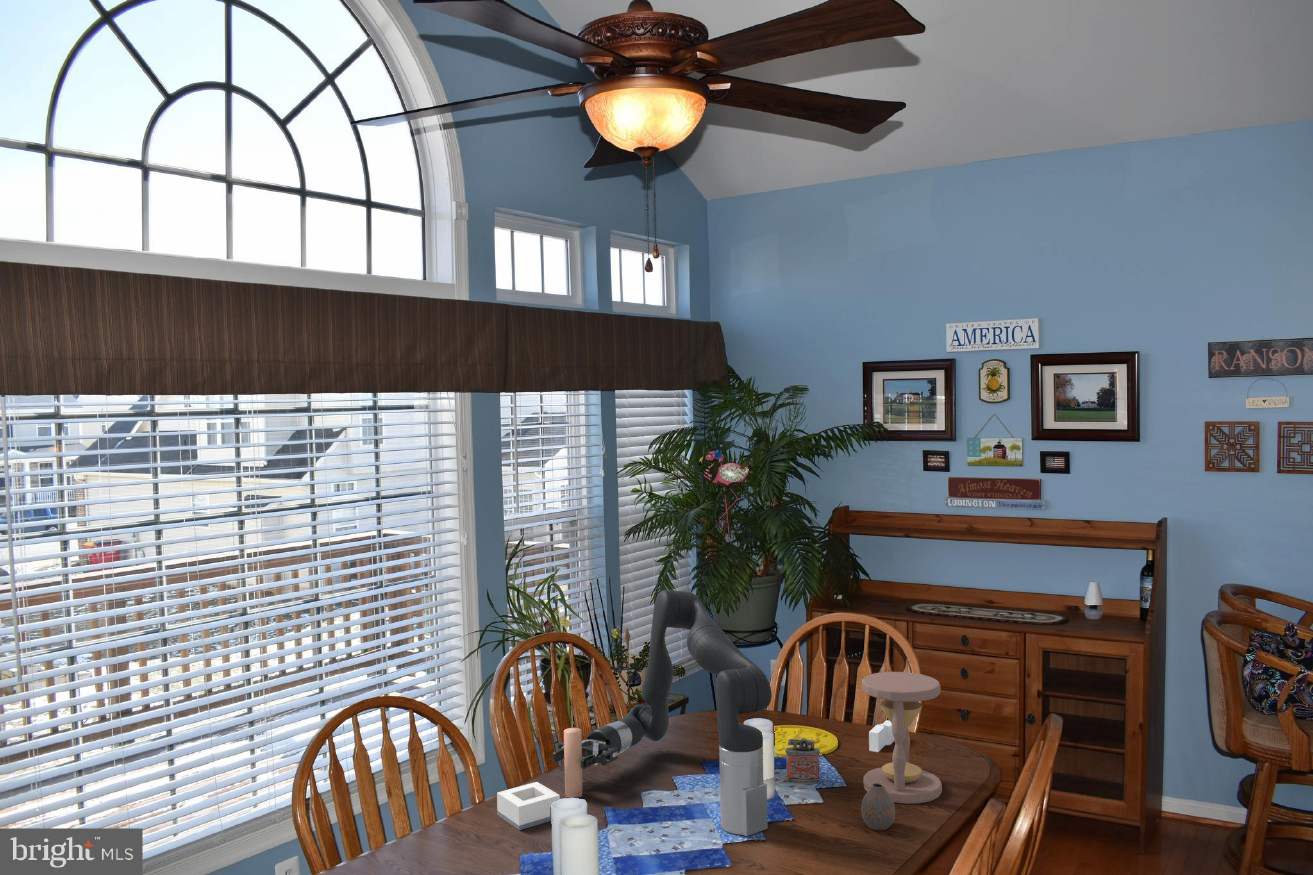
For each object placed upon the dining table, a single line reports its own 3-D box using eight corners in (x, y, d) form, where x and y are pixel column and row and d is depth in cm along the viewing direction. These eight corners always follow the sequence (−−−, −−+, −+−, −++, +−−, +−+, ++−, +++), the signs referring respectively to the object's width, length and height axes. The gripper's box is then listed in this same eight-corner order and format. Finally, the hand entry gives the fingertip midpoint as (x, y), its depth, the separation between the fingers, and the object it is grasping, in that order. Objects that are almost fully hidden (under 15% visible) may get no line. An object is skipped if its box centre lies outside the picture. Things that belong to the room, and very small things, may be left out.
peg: (585, 795, 220) (584, 730, 220) (570, 799, 218) (569, 734, 218) (576, 790, 224) (575, 726, 223) (561, 794, 221) (560, 730, 221)
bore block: (560, 817, 208) (559, 795, 208) (519, 830, 202) (518, 806, 202) (537, 803, 216) (537, 781, 216) (497, 815, 210) (497, 792, 210)
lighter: (819, 778, 228) (819, 736, 228) (820, 783, 225) (820, 741, 225) (785, 777, 229) (784, 736, 229) (786, 783, 226) (785, 741, 225)
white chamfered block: (873, 757, 243) (872, 735, 243) (848, 744, 253) (848, 722, 253) (922, 749, 248) (922, 727, 248) (896, 736, 259) (895, 715, 259)
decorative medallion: (736, 752, 248) (736, 745, 248) (763, 725, 270) (763, 718, 269) (826, 764, 238) (826, 756, 238) (846, 735, 260) (846, 727, 260)
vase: (870, 816, 206) (870, 776, 206) (900, 825, 201) (900, 783, 201) (855, 827, 200) (855, 786, 200) (886, 836, 196) (885, 793, 196)
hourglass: (877, 770, 233) (875, 667, 232) (950, 783, 224) (948, 676, 223) (852, 795, 218) (851, 685, 217) (930, 809, 209) (928, 696, 208)
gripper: (586, 720, 236) (543, 739, 223) (633, 730, 229) (592, 750, 215) (587, 750, 237) (544, 771, 223) (634, 761, 229) (592, 783, 215)
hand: (567, 761), depth 219 cm, fingers open, 8 cm apart
